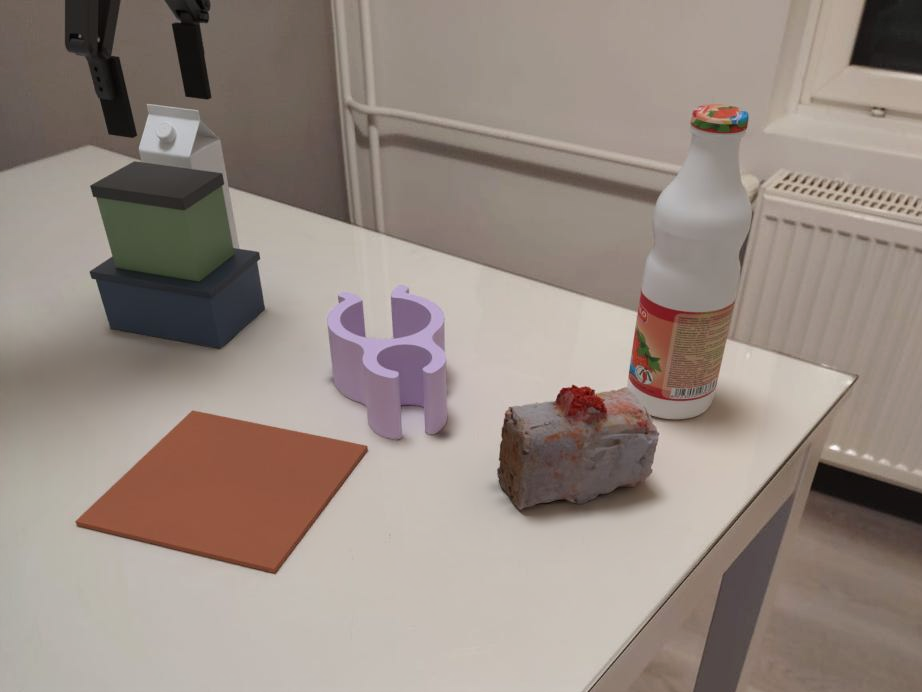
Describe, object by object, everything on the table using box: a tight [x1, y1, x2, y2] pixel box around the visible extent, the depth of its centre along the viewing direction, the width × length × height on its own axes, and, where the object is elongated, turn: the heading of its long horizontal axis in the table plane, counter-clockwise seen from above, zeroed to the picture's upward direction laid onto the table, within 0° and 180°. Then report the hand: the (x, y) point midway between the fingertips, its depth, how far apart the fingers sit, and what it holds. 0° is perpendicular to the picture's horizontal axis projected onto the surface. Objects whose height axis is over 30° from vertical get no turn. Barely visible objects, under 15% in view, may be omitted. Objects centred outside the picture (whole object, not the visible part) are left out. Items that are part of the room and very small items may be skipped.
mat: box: [74, 410, 369, 574], centre depth 86 cm, size 20×20×1 cm
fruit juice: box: [626, 103, 753, 420], centre depth 88 cm, size 9×9×28 cm
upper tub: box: [89, 160, 234, 282], centre depth 102 cm, size 11×8×9 cm
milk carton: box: [138, 103, 241, 249], centre depth 114 cm, size 7×7×19 cm
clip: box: [326, 284, 448, 441], centre depth 96 cm, size 20×12×7 cm, turn 16°
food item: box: [496, 384, 660, 511], centre depth 83 cm, size 14×8×10 cm, turn 110°
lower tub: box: [89, 248, 266, 349], centre depth 107 cm, size 16×12×7 cm
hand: (162, 115), depth 91 cm, fingers open, 13 cm apart
